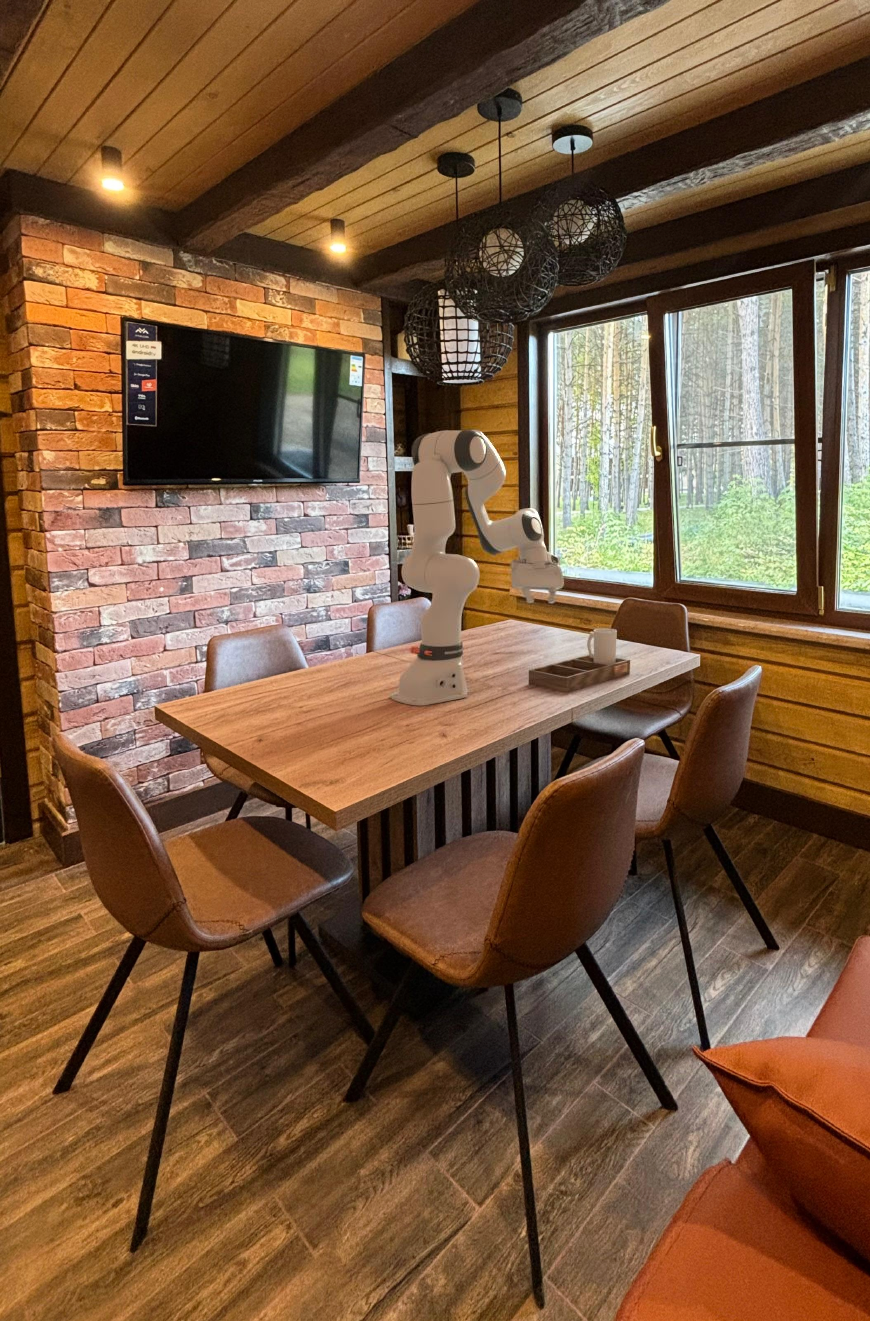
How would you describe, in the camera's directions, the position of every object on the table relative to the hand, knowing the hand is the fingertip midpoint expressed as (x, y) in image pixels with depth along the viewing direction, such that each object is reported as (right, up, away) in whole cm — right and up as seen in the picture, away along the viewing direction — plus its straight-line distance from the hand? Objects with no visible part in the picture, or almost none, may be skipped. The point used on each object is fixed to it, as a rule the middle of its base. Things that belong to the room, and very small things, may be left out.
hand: (541, 602), depth 234 cm
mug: (+17, -21, -6) cm, 28 cm away
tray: (+10, -24, -12) cm, 28 cm away
